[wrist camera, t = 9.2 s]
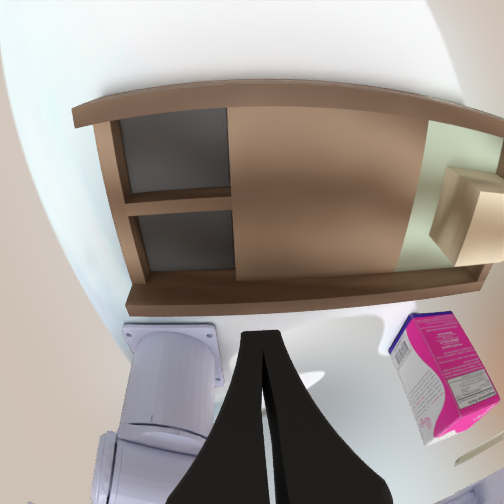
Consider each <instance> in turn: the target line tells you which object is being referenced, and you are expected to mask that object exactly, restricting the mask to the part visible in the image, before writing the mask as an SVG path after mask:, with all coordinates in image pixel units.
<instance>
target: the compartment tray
mask: <svg viewBox="0 0 504 504" xmlns="http://www.w3.org/2000/svg"><path fill="white" fill-rule="evenodd" d="M226 107H227V115H226ZM72 114H73V120H74V126H75V128H79V127H84V126H88V125H93V127H94V133H95V139H96V145H97V150H98V155H99V160H100V165H101V170H102V175H103V179H104V184H105V188H106V193H107V197H108V201H109V205H110V209H111V213H112V217H113V221H114V224H115V228H116V232H117V235H118V239H119V242H120V246H121V249H122V253H123V256H124V259H125V262H126V266H127V269H128V272H129V275H130V278H131V281H132V287H131V290H130V293H129V296H128V299H127V301H126V304H125V306H126V309H127V311H128V314H129V316H144V317H174V316H224V315H250V314H270V313H287V312H302V311H315V310H328V309H340V308H350V307H361V306H370V305H380V304H388V303H397V302H405V301H413V300H420V299H428V298H435V297H442V296H449V295H455V294H461V293H468V292H473V291H480V290H481V288H482V286H483V283H484V281H485V279H486V277H487V275H488V273H489V271H490V269H491V267H492V264H493V263H488V264H478V265H468V266H458V267H454V266H453V264H452V263H451V262H450V261H449V259H448V258H447V257H446V255H445V254H444V253H443V252H442V250H441V249H440V248H439V247H438V246H437V244H436V243H435V242H434V241H433V240H432V238H431V237H430V236H429V233H430V229H431V226H432V223H433V219H434V216H435V212H436V208H437V205H438V201H439V197H440V193H441V189H442V185H443V181H444V176H445V172H446V167H447V166H448V167H456V168H464V169H471V170H477V171H484V172H490V173H496V174H497V175H499V176H500V177H501V178H503V179H504V119H503V118H501V117H498V116H495V115H492V114H489V113H486V112H483V111H480V110H477V109H474V108H470V107H467V106H463V105H460V104H456V103H452V102H448V101H445V100H441V99H436V98H432V97H428V96H423V95H418V94H414V93H408V92H403V91H398V90H392V89H386V88H379V87H372V86H365V85H357V84H348V83H338V82H327V81H312V80H289V79H244V80H221V81H206V82H195V83H185V84H176V85H168V86H160V87H153V88H147V89H140V90H135V91H129V92H124V93H118V94H113V95H109V96H104V97H100V98H97V99H95V100H92V101H89V102H87V103H84V104H81V105H79V106H76V107H74V108H72ZM227 117H228V137H227ZM228 140H229V158H228ZM229 161H230V177H229ZM230 180H231V186H230ZM231 210H232V213H231ZM232 217H233V230H232ZM233 234H234V247H233ZM234 251H235V262H234Z"/></svg>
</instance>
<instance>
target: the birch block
mask: <svg viewBox="0 0 504 504" xmlns="http://www.w3.org/2000/svg"><path fill="white" fill-rule="evenodd" d="M429 236H430V237H431V238H432V240H433V241H434V242H435V243H436V244H437V246H438V247H439V248H440V249H441V250H442V252H443V253H444V254H445V255H446V257H447V258H448V259H449V261H450V262H451V263H452V264H453V266H454V267H458V266H468V265H478V264H488V263H497V262H503V260H504V179H503V178H501V177H500V176H499V175H497V174H496V173H490V172H484V171H477V170H471V169H464V168H456V167H448V166H447V167H446V172H445V176H444V181H443V185H442V189H441V193H440V197H439V201H438V205H437V208H436V212H435V216H434V219H433V223H432V226H431V229H430V233H429Z"/></svg>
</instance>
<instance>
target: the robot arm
mask: <svg viewBox="0 0 504 504" xmlns="http://www.w3.org/2000/svg"><path fill="white" fill-rule="evenodd" d="M122 332H123V334H124V336H125V338H126V340H127V342H128V344H129V346H130V348H131V350H132V352H133V354H134V358H133V362H132V366H131V371H130V375H129V380H128V385H127V389H126V394H125V399H124V404H123V409H122V415H121V420H120V425H119V428H118V431H117V433H115V432H113V431H107V433H105V434H103V435H101V436H100V441H99V447H98V452H97V457H96V463H95V470H94V476H93V483H92V491H91V500H92V504H270V499H269V489H268V479H267V468H266V458H265V447H264V435H263V424H262V412H261V406H262V389H263V395H264V401H265V407H266V412H267V418H268V423H269V429H270V435H271V442H272V453H273V467H274V483H275V498H276V504H393V499H392V495H391V492H390V490H389V488H388V486H387V484H386V482H385V480H384V479H382V478H381V477H380V476H379V475H378V474H376V473H375V472H374V471H373V470H372V469H371V468H370V467H369V466H367V464H365V463H364V462H363V461H362V460H361V459H360V458H359V457H358V456H357V455H356V454H355V453H354V452H353V450H351V448H350V447H349V446H348V445H347V444H346V443H345V442H344V440H343V439H342V438H341V437H340V436H339V435H338V434H337V432H336V431H335V430H334V429H333V427H332V426H331V425H330V424H329V422H328V421H327V419H326V418H325V417H324V416H323V414H322V413H321V411H320V410H319V408H318V407H317V405H316V404H315V402H314V401H313V399H312V398H311V396H310V394H309V393H308V391H307V389H306V388H305V386H304V384H303V382H302V381H301V379H300V377H299V375H298V373H297V371H296V369H295V367H294V365H293V363H292V361H291V359H290V357H289V354H288V352H287V350H286V347H285V345H284V342H283V339H282V336H281V332H280V331H279V330H262V331H244V332H242V333H241V340H240V348H239V353H238V358H237V362H236V366H235V369H234V373H233V376H232V380H231V383H230V386H229V389H228V391H227V394H226V397H225V399H224V402H223V405H222V407H221V410H220V412H219V414H218V416H217V419H216V421H215V423H214V387H218V386H223V385H224V377H223V371H222V366H221V360H220V354H219V348H218V342H217V336H216V330H215V327H214V326H213V325H209V324H206V325H132V324H126V325H123V327H122ZM213 424H214V425H213ZM28 504H34V503H32V502H28ZM434 504H504V468H501V469H500V470H498V471H496V472H495V473H493V474H491V475H489V476H488V477H486V478H484V479H483V480H479V481H478V482H476V483H474V484H472V485H470V486H468V487H466V488H464V489H462V490H460V491H458V492H456V493H455V494H454V495H452V496H450V497H448V498H446V499H443V500H441V501H439V502H436V503H434Z"/></svg>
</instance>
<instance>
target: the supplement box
mask: <svg viewBox="0 0 504 504" xmlns="http://www.w3.org/2000/svg"><path fill="white" fill-rule="evenodd" d="M388 352H389V354H390V356H391V358H392V360H393V363H394V365H395V368H396V370H397V372H398V375H399V377H400V380H401V382H402V385H403V387H404V390H405V393H406V395H407V398H408V400H409V403H410V406H411V409H412V411H413V414H414V417H415V419H416V422H417V425H418V428H419V431H420V433H421V436H422V439H423V442H424V445H425V446H428V445H431V444H433V443H436V442H438V441H441V440H443V439H446V438H448V437H451V436H453V435H456V434H458V433H461V432H463V431H465V430H467V429H468V428H470V427H471V426H472V425H473V424H474V423H476V422H477V421H478V420H479V419H480V418H482V417H483V416H484V415H485V414H486V413H487V412H488V411H489V410H491V409H492V408H493V407H494V406H495V405H496V404H497V403H498V402H499V401H500V397H499V395H498V393H497V391H496V389H495V387H494V385H493V383H492V381H491V379H490V377H489V375H488V373H487V371H486V369H485V367H484V365H483V364H482V362H481V360H480V358H479V357H478V355H477V353H476V351H475V350H474V348H473V346H472V344H471V343H470V341H469V339H468V337H467V336H466V334H465V332H464V331H463V329H462V327H461V326H460V324H459V322H458V321H457V319H456V318H455V316H454V315H453V313H452V312H451V311H447V312H446V311H445V312H435V313H421V314H410V315H409V317H408V319H407V320H406V322H405V324H404V326H403V328H402V329H401V331H400V333H399V335H398V336H397V338H396V340H395V341H394V343H393V344H392V346H391V348H390V349H389V351H388Z"/></svg>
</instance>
